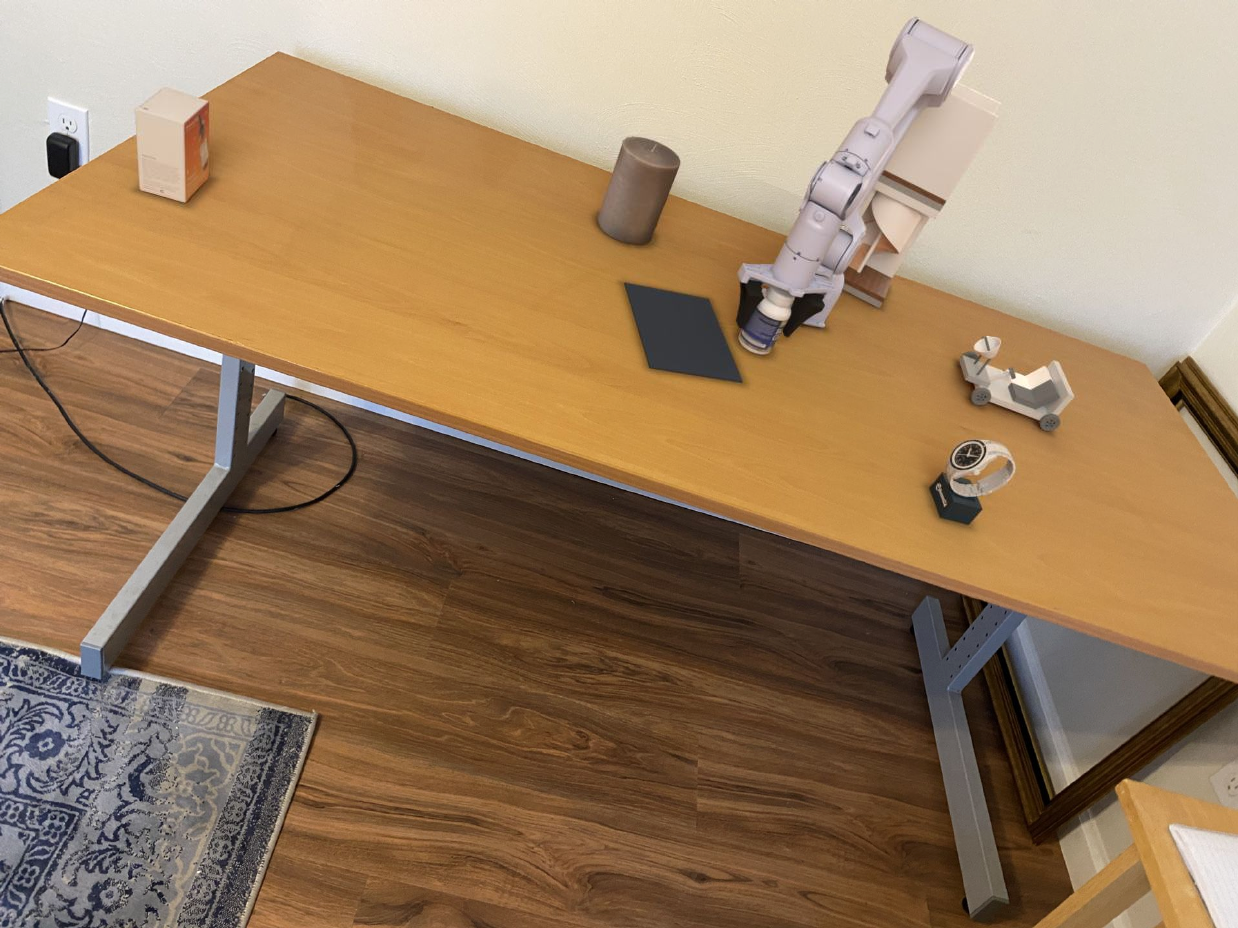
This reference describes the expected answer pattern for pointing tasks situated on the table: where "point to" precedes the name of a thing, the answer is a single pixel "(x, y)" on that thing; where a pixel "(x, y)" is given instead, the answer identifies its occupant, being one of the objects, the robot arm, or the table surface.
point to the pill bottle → (767, 321)
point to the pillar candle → (638, 190)
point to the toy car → (1017, 385)
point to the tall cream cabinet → (917, 186)
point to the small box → (172, 144)
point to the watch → (958, 493)
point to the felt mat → (681, 333)
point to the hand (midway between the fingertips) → (762, 329)
